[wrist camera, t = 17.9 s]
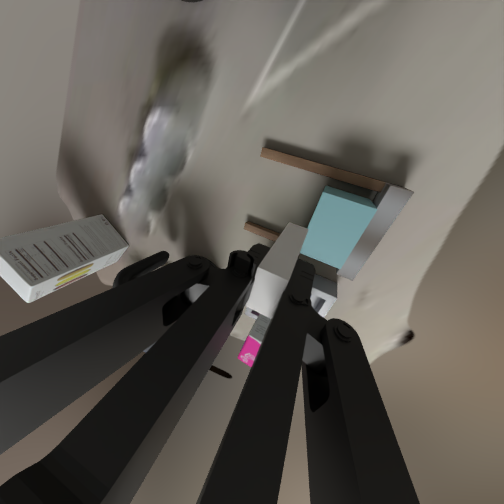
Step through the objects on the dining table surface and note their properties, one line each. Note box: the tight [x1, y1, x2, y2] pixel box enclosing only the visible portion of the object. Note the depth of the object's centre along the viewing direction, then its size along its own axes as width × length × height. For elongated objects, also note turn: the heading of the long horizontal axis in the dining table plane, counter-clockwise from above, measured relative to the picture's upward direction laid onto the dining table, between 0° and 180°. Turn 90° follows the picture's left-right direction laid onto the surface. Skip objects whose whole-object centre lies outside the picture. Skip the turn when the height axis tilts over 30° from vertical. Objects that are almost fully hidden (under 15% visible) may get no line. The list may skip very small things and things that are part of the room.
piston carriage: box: [300, 186, 378, 269], centre depth 21 cm, size 7×5×5 cm
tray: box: [245, 274, 337, 320], centre depth 29 cm, size 11×11×4 cm
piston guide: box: [244, 147, 414, 281], centre depth 23 cm, size 11×16×3 cm
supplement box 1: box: [0, 214, 129, 303], centre depth 38 cm, size 10×9×17 cm
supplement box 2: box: [238, 296, 311, 367], centre depth 25 cm, size 6×6×12 cm
